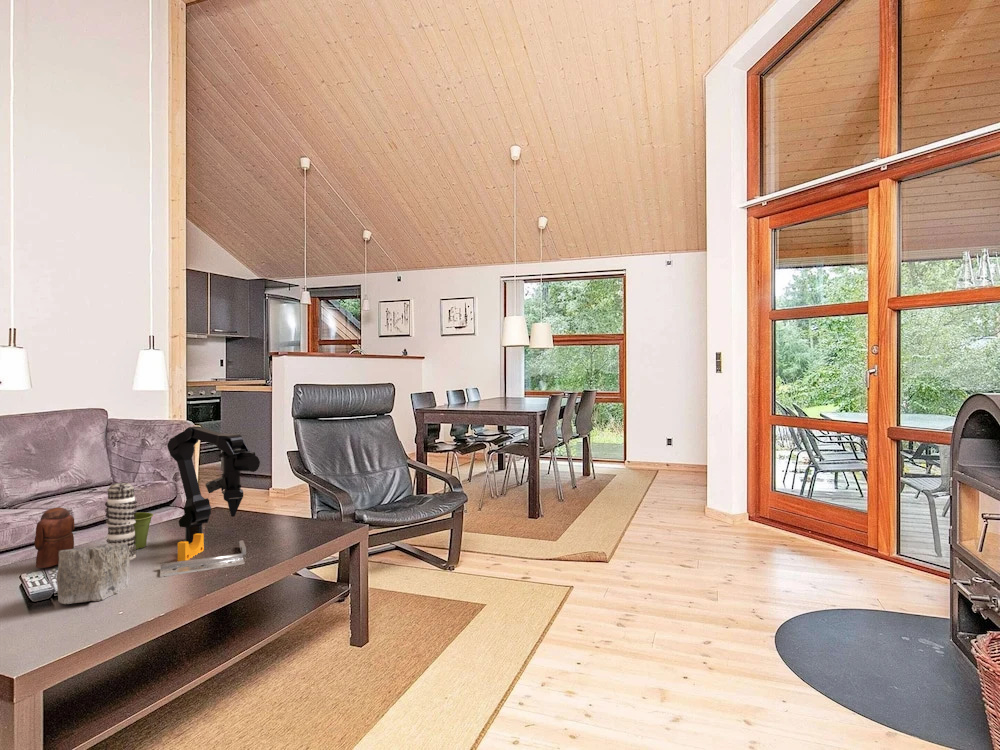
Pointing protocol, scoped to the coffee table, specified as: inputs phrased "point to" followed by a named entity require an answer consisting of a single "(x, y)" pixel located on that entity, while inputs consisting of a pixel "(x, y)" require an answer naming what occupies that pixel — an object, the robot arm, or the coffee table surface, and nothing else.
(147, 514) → the plant pot
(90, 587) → the petrified wood
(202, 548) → the pipe clamp
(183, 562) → the hinge bed
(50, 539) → the wooden figurine
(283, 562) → the coffee table surface
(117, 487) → the decorative candle
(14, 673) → the coffee table surface
